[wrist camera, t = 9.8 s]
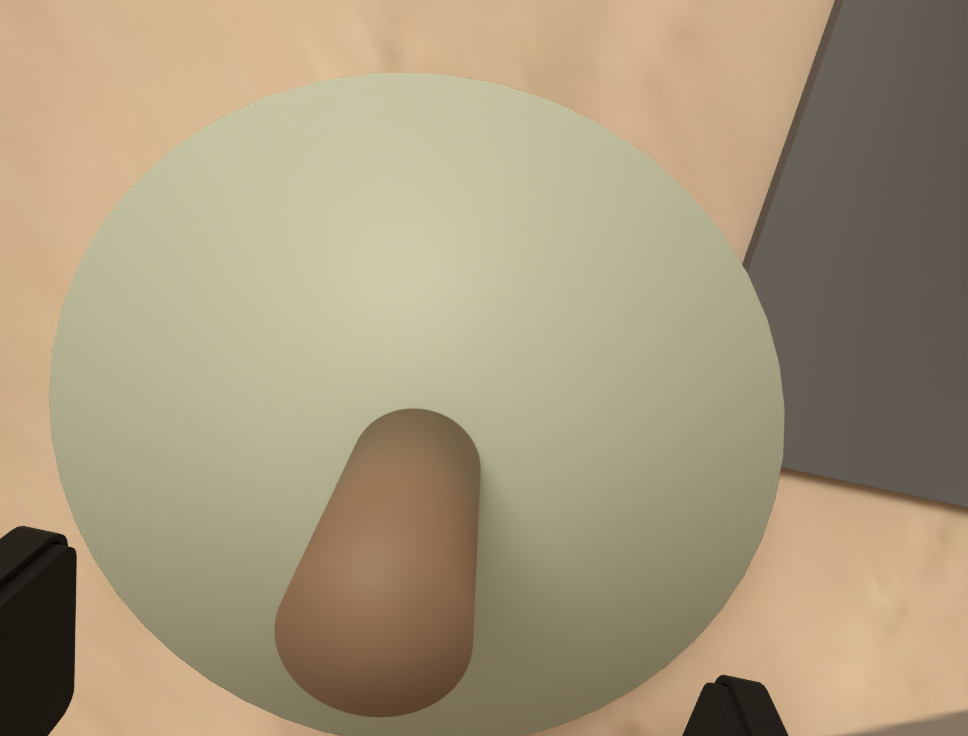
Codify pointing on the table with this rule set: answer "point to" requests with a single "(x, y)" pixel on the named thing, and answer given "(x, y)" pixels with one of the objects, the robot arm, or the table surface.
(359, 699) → the lid
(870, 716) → the table surface
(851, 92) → the mat
